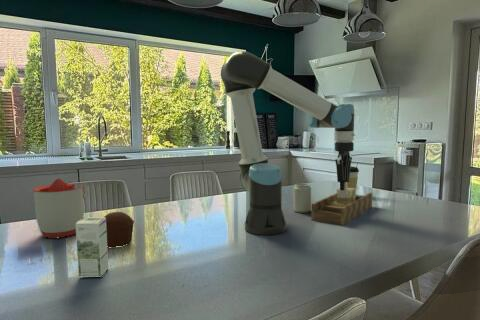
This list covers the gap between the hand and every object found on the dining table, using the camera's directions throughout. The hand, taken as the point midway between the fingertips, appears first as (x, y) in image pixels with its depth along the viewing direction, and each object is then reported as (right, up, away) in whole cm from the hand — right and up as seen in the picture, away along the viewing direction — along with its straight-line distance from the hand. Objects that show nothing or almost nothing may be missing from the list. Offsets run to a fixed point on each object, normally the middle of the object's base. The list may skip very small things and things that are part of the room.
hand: (343, 197), depth 145 cm
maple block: (+2, -3, +3) cm, 5 cm away
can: (-16, -7, +6) cm, 19 cm away
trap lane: (+1, -7, +2) cm, 7 cm away
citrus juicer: (-107, -11, -22) cm, 110 cm away
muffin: (-84, -12, -33) cm, 91 cm away
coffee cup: (+14, -3, +38) cm, 40 cm away
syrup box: (-81, -14, -56) cm, 100 cm away
